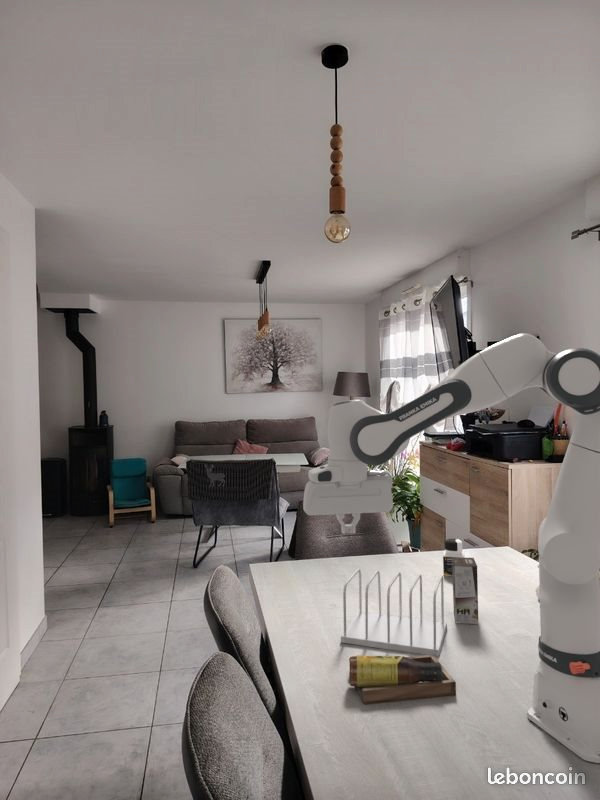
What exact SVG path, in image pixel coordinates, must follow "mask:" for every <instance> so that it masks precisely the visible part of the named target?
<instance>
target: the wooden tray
mask: <svg viewBox="0 0 600 800" xmlns="http://www.w3.org/2000/svg"><path fill="white" fill-rule="evenodd" d="M406 657H407V658H409V659H412V660H415V661H417V662H420V663H421V662H422V663H433V662H440V661H439V659H438V658H437V656H434V655H425V654H422V655H413V656H406ZM441 667H442V681H434V682H419V683H413V684H403V685H393V686H383V687H358V686H355V688H356V691H357V693H358V695H359V697H360V699H361V701H362V703H363V705H373V704H382V703H383V704H384V703H391V702H401V701H411V700H419V699H421V700H423V699H429V698H430V699H431V698H440V697H450V696H456V695H457V681H456V679H454V678H453V677H452V675H451V674H450V673H449V672H448V670H447V669H446V668H445V667H444V666H443V665H442V664H441Z"/></svg>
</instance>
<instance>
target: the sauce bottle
mask: <svg viewBox="0 0 600 800" xmlns="http://www.w3.org/2000/svg"><path fill="white" fill-rule="evenodd" d="M407 657H408V656H402V655H360V654H359V655H358V654H357V655H354V656H353V655H352V656H349V657H348V658H349V659H348V661H349V674H348V675H349V686H351V687H356V686H358V687H383V686H393V685H403V684H413V683H419V682H434V681H442V667H441V665H442V663H441V662H440V661H439V662H433V663H422V662H421V663H420V662H417V661H415V660H412V659H409V658H407Z"/></svg>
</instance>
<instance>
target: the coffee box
mask: <svg viewBox="0 0 600 800" xmlns="http://www.w3.org/2000/svg"><path fill="white" fill-rule="evenodd" d="M452 575H453V576H452V597H453V598H452V601H453V603H452V604H453V614H454V621H455V623H456V624H467V625H470V624H471V625H479V591H478V590H479V589H478V587H479V585H478V584H479V582H478V564H477V562H476V561H475V558H474V557H464V558H452Z"/></svg>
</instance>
